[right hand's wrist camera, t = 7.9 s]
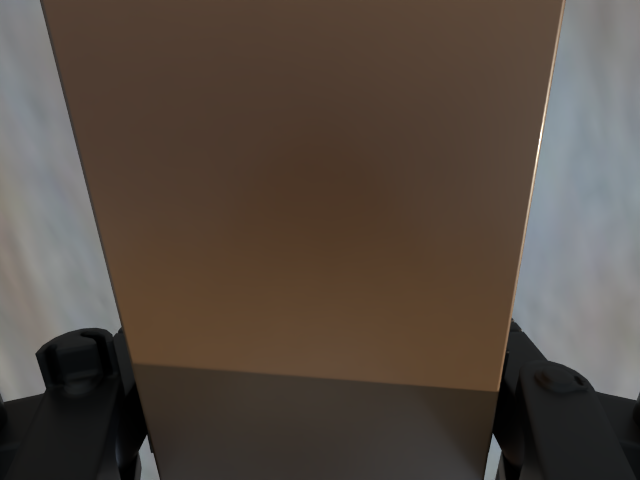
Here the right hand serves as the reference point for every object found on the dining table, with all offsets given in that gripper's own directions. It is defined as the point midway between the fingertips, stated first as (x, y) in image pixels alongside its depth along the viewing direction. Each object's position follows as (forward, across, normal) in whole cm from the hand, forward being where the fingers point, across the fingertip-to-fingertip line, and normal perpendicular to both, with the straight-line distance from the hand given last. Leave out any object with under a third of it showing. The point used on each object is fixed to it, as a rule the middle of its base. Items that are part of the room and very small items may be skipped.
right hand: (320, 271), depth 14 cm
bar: (0, +1, -34) cm, 34 cm away
